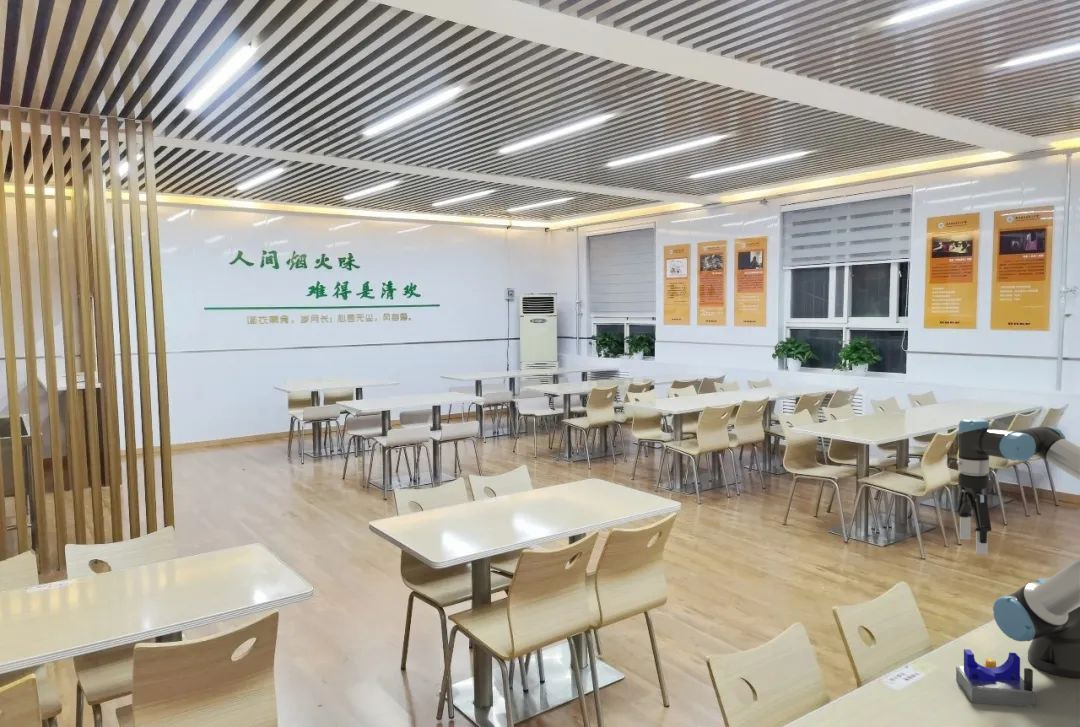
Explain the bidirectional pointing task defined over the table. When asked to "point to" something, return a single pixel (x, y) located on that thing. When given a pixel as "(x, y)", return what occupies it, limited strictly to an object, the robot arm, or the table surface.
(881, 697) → the table surface
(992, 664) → the chess pawn
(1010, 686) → the grey square plate
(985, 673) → the cable clip
